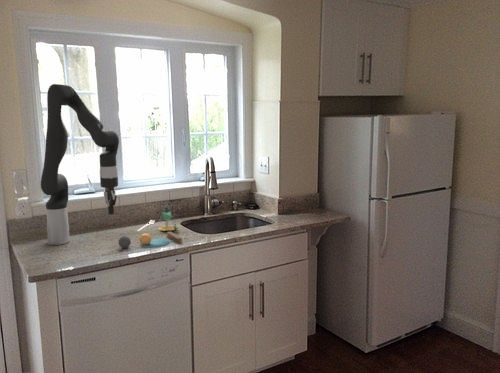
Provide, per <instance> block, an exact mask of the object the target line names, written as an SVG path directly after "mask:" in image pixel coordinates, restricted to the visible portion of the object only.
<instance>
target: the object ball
mask: <svg viewBox="0 0 500 373" xmlns="http://www.w3.org/2000/svg"><path fill="white" fill-rule="evenodd" d="M151 239H152V236H151V234H149V233H147V232H146V233H142V234H141V235H140V236H139V242H140V243H141V244H143V245H148V244H149V243H150V242H151Z"/></svg>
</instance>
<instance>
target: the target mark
mask: <svg viewBox="0 0 500 373" xmlns="http://www.w3.org/2000/svg"><path fill="white" fill-rule="evenodd" d="M170 243H171V242H170V239H165V238H151V242H150V243H149V244H148V245H143V244H141V242H140V243H139V244H140V246H142V247H144V248H150V249H151V248H152V249H153V247H156V248H162V246H163V247H166V246H168V245H170Z"/></svg>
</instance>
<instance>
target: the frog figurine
mask: <svg viewBox="0 0 500 373" xmlns="http://www.w3.org/2000/svg"><path fill="white" fill-rule="evenodd" d="M165 205H166V206H165V211H164V210H160V214H161V215H160V218H159V219H158V221H162V219H163V220H164V225H163V226H159V227H158V231H162V232H172V233H174V234H180V231H179V227H178V226H177V225H176V223H174V225H172V224H171V225H170V223H169V221H170V220H172V219H173V220H172V221H175V217H174V216H173V215H172V209H169V206H168V204H165ZM168 224H169V225H168Z"/></svg>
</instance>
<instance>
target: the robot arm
mask: <svg viewBox="0 0 500 373" xmlns="http://www.w3.org/2000/svg"><path fill="white" fill-rule="evenodd" d="M46 95H47V97H46V98H47V99H46V100H47V102H46V103H47V104H46V105H47V106H46V107H47V124H46V134H45V148H44V149H45V150H44V158H43V159H44V162H43V167H42V168H43V169H42V173H41V178H40V188H41V189H40V190H41V191H42V193H43V194H44V195H46V196H50V198H48V200H47V201H46V202H45V210H46V220H47V221H46V223H47V224H46V231H47V232H46V233H47V243H48V246H49V245H51V246H52V245H53V246H54V245H55V246H59V245H64V244H68V243H69V242H70V239H71V238H70V227H69V215H68V214H69V213H68V202H69V185H68V184H69V183H68V180H67V177H66V176H65V175H64V174H62V173H59V167H60V165H61V162H62V160H63V158H64V157H65V154H66V152H67V149H68V142H69V134H68V130H67V128H66V125H65V123H64V121H63V119H62V106H68V107H70V109H72V110H74V111H75V114H76V117H77V120H78V122H79V124H80V125H81V126H82V127H83V128H84V129H85V131H87V132H88V134H89V135H90V137H91V139H92V141H93V143H94V144H95V145H96V146H97V147H99V148H104V151H103V152H101V153H100V154H99V181H100V187H101V188H104V191H103V196H104V200H105V204H106V206H107V214H108V215H114V214H115V209H114V207H115V205H116V202H117V198H118V196H117V194H116V190H115V188H117V187H119V174H118V168H117V167H118V166H117V154H118V150H119V145H120V138H119V135H118V133H117V132H116V131H114V130H103V129H104V124H103V123H102V121H101V120H100V119H99V118H98V117H96V115H94V114H93V113H92V111H91V110H90V109H89V108H88V106H86V104H85V103H84V101H83V99H81V97H80V95H79V94H78V93H77V91H76V90H75V88H73V87H72V86H71V85H67V84H60V83H53V84H50V85H49V87H48V89H47V94H46Z"/></svg>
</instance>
